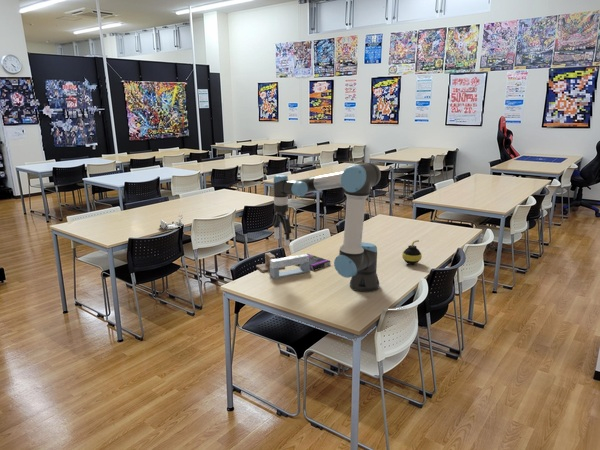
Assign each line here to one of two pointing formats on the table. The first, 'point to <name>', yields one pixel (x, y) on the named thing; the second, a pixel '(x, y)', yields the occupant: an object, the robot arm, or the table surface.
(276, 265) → the bar
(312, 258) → the box
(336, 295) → the table surface
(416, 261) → the bomb
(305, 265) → the rack
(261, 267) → the stand
